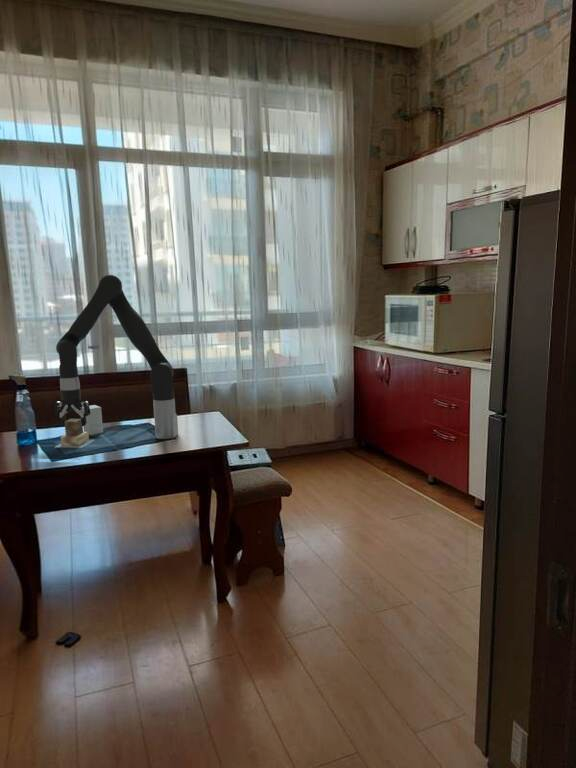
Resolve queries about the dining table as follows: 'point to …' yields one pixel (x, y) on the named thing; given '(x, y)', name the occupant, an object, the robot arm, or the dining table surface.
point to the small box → (94, 421)
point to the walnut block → (73, 427)
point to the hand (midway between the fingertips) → (74, 425)
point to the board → (77, 446)
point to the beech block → (74, 439)
